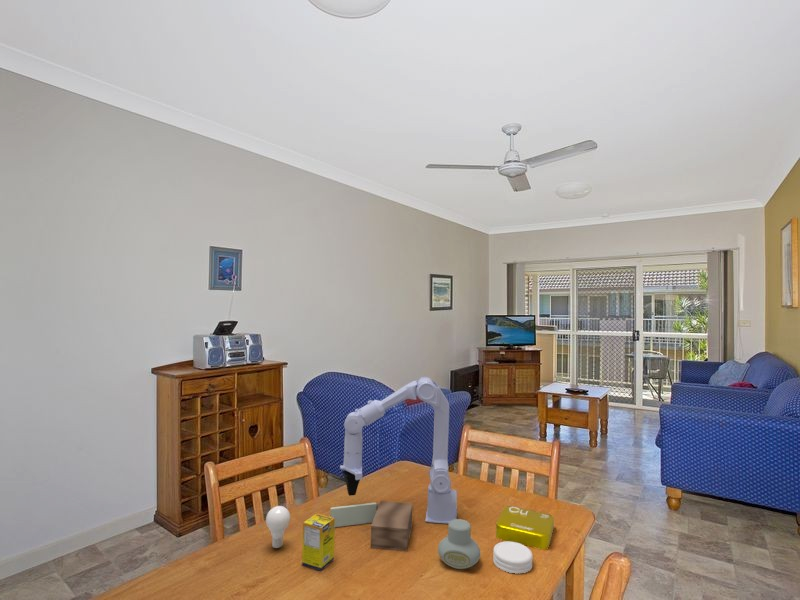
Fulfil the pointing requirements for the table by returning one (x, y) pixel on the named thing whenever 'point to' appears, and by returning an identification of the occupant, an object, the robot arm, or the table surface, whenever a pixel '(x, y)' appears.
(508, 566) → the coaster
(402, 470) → the table surface
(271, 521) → the lightbulb
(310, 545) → the supplement box
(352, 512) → the cabinet door
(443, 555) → the air freshener
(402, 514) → the walnut cabinet
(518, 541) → the element tile
